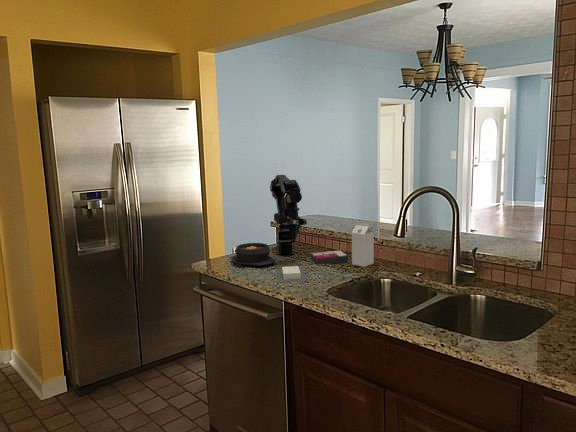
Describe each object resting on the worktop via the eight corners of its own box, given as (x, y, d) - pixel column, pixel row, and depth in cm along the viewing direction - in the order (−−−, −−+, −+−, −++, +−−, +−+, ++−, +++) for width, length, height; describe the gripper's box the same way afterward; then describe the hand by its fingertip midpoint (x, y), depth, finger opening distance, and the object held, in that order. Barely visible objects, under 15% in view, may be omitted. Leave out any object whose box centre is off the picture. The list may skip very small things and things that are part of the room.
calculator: (310, 252, 230) (340, 249, 233) (311, 261, 231) (341, 257, 234) (316, 258, 220) (347, 254, 222) (317, 267, 220) (348, 263, 223)
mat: (275, 269, 214) (275, 269, 214) (302, 268, 214) (302, 267, 214) (277, 282, 194) (277, 281, 194) (307, 281, 195) (307, 280, 195)
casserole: (285, 263, 224) (284, 246, 223) (254, 271, 212) (253, 253, 210) (251, 255, 242) (251, 239, 241) (221, 262, 230) (220, 245, 228)
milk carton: (361, 261, 225) (361, 221, 222) (373, 264, 219) (373, 223, 217) (351, 264, 220) (351, 223, 217) (364, 267, 215) (364, 225, 212)
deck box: (282, 266, 207) (283, 273, 196) (298, 266, 207) (300, 273, 197) (282, 272, 207) (283, 279, 197) (298, 272, 208) (300, 279, 197)
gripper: (285, 210, 236) (288, 242, 234) (266, 207, 219) (269, 241, 217) (305, 207, 231) (308, 239, 229) (288, 203, 214) (291, 238, 212)
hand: (294, 239), depth 222 cm, fingers closed
